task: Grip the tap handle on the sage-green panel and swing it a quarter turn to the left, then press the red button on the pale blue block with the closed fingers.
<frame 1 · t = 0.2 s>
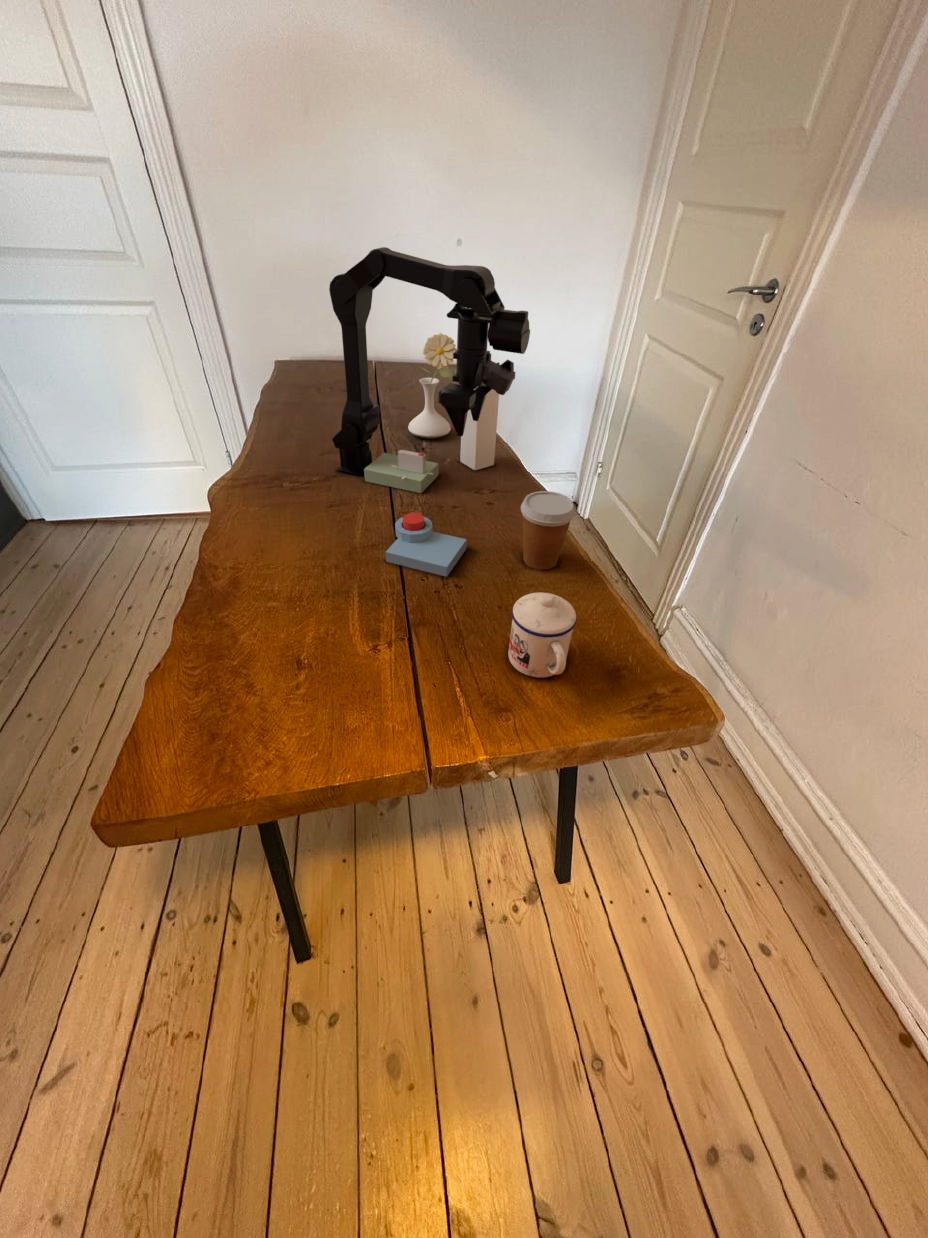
hand: (468, 427, 113), 14 cm above the table, tool pointing down, fingers open, 9 cm apart
tap handle: (411, 461, 121), point 5 cm above the table, hinge at 0.0°
disposable coffee cup: (539, 561, 103), on the table
button block: (427, 555, 102), on the table
teacup with lid: (540, 665, 81), on the table
milk: (476, 464, 134), on the table
button: (413, 522, 103), point 4 cm above the table, slide at 0.1 cm
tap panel: (402, 478, 126), on the table
flower in vase: (432, 435, 147), on the table
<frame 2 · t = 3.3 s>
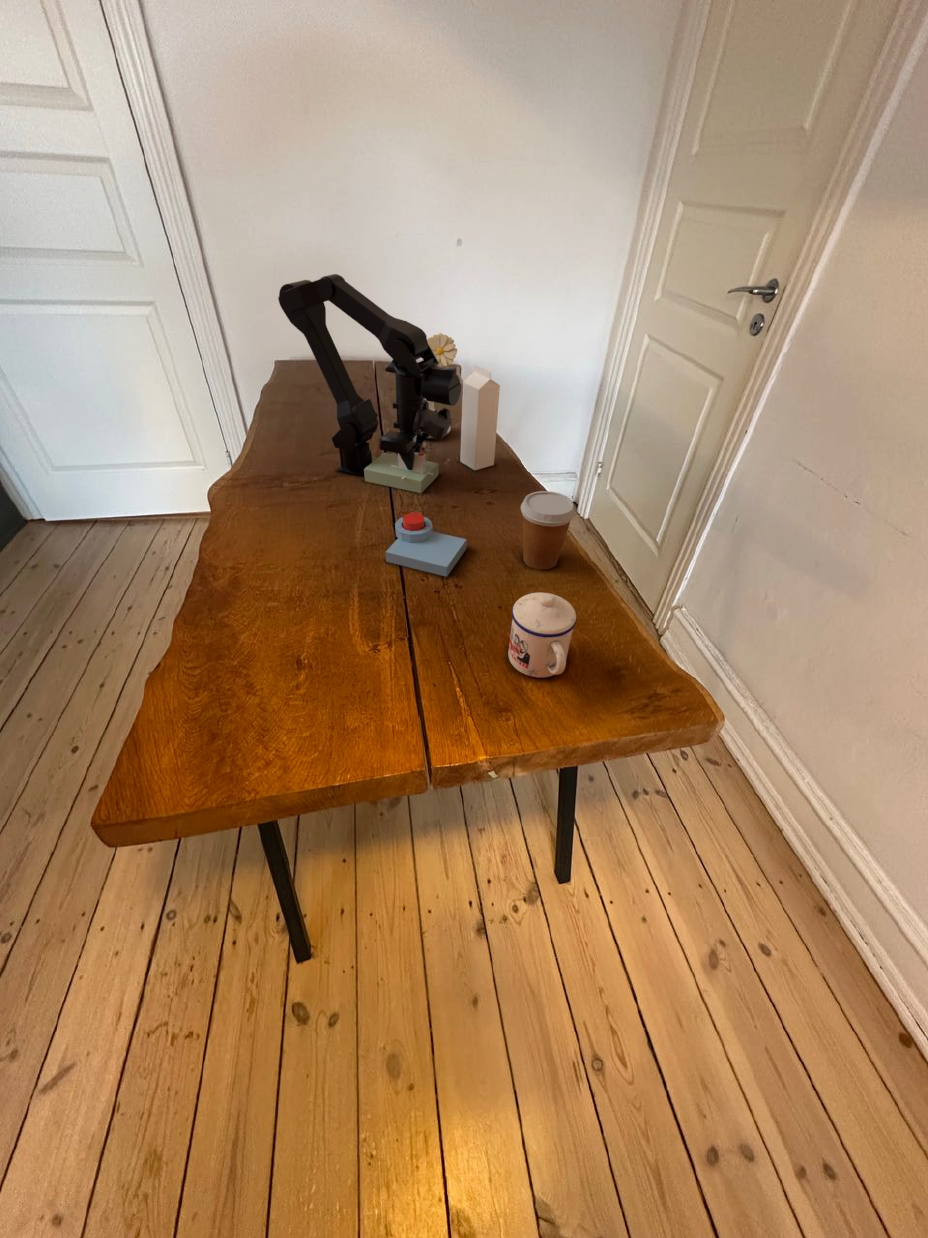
hand: (411, 468, 123), 4 cm above the table, tool pointing down, fingers closed on tap handle, 2 cm apart
tap handle: (411, 461, 121), point 5 cm above the table, hinge at 0.1°, touching gripper
everything else where it was.
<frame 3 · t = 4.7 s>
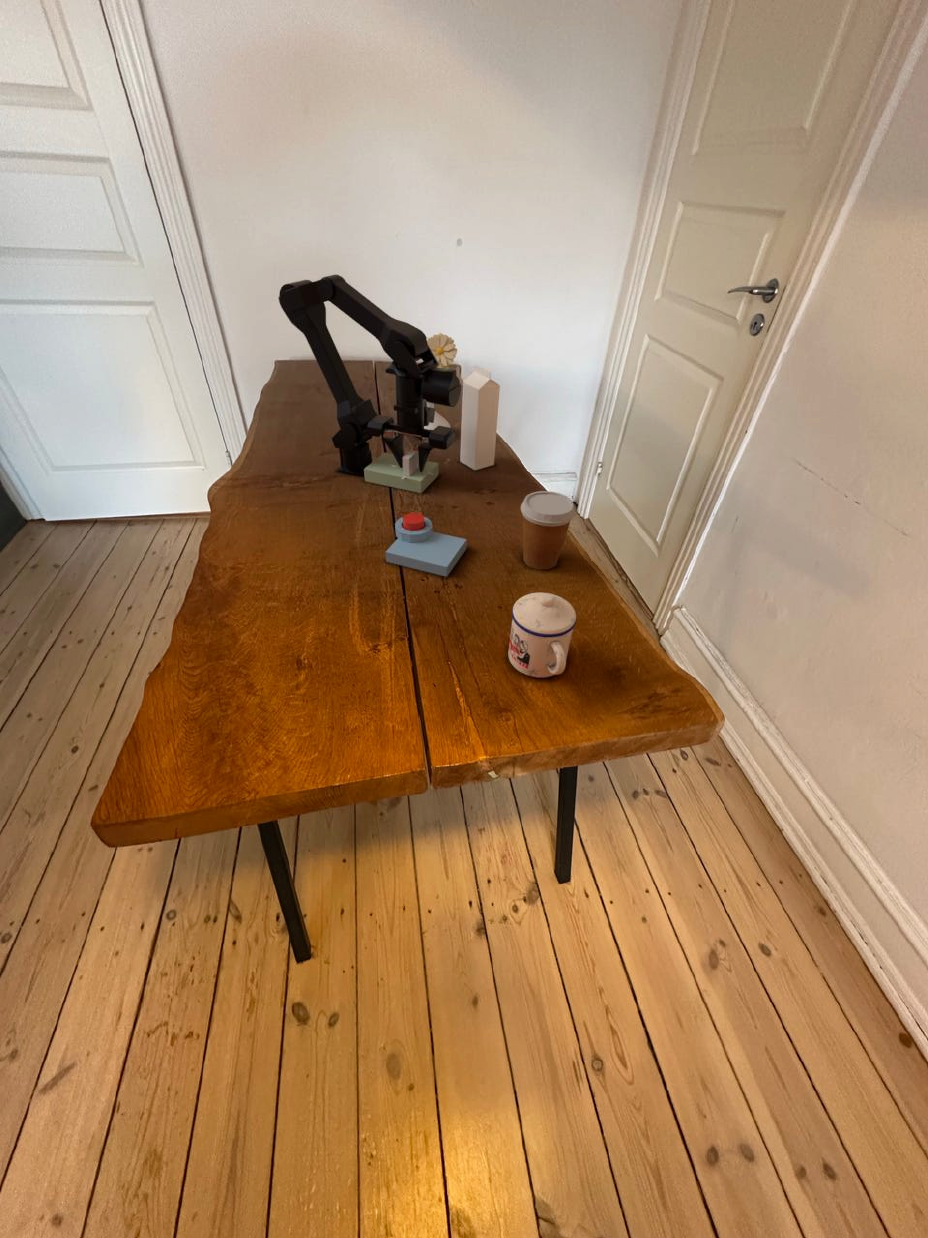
hand: (411, 469, 123), 3 cm above the table, tool pointing down, fingers open, 4 cm apart
tap handle: (411, 461, 121), point 5 cm above the table, hinge at 89.9°
everything else where it was.
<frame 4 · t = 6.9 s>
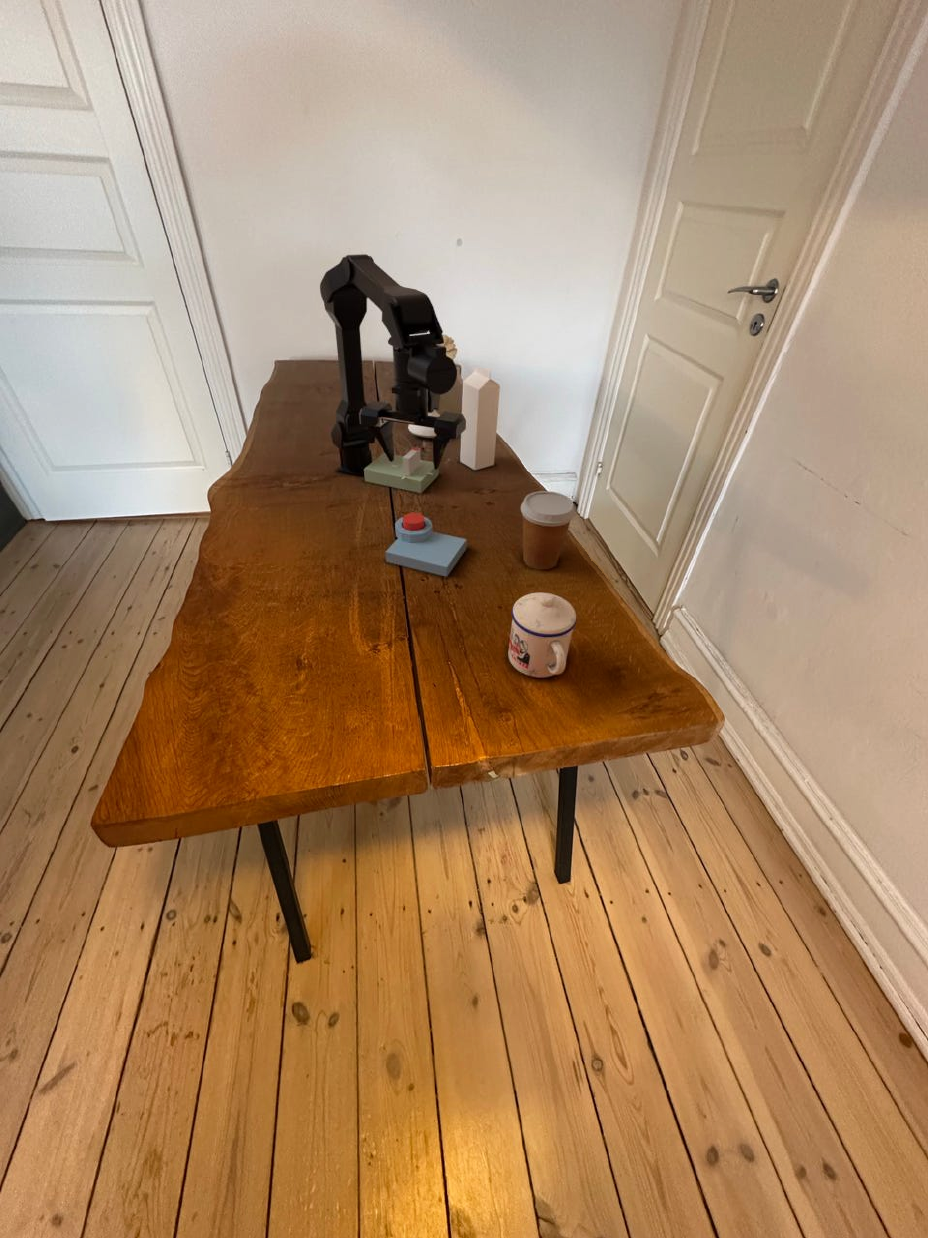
hand: (413, 464, 104), 12 cm above the table, tool pointing down, fingers open, 9 cm apart
nothing on the table moved.
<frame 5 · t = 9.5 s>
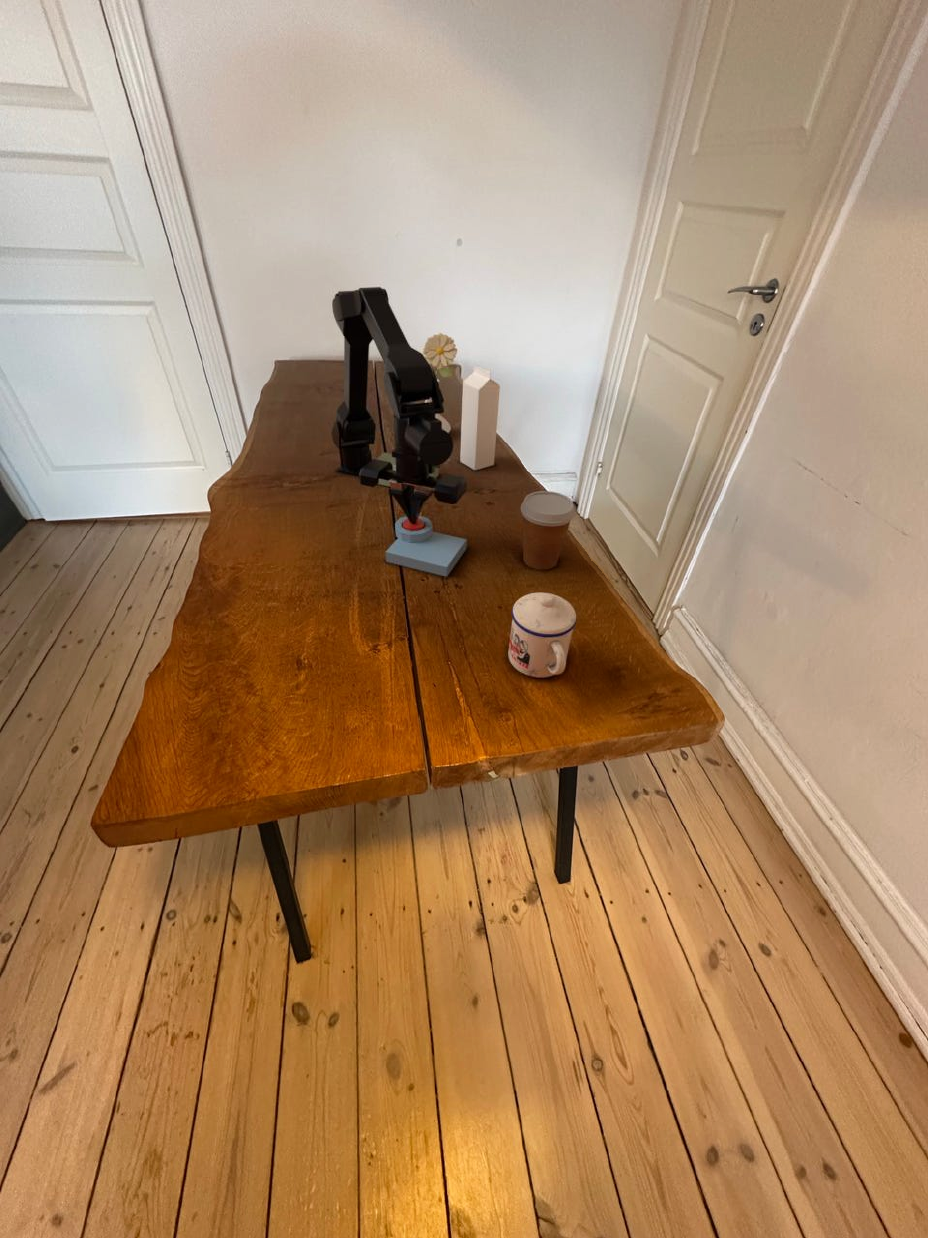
hand: (413, 522, 103), 4 cm above the table, tool pointing down, fingers closed, pressing on button
button: (413, 526, 103), point 3 cm above the table, slide at -0.9 cm, touching gripper
everything else where it was.
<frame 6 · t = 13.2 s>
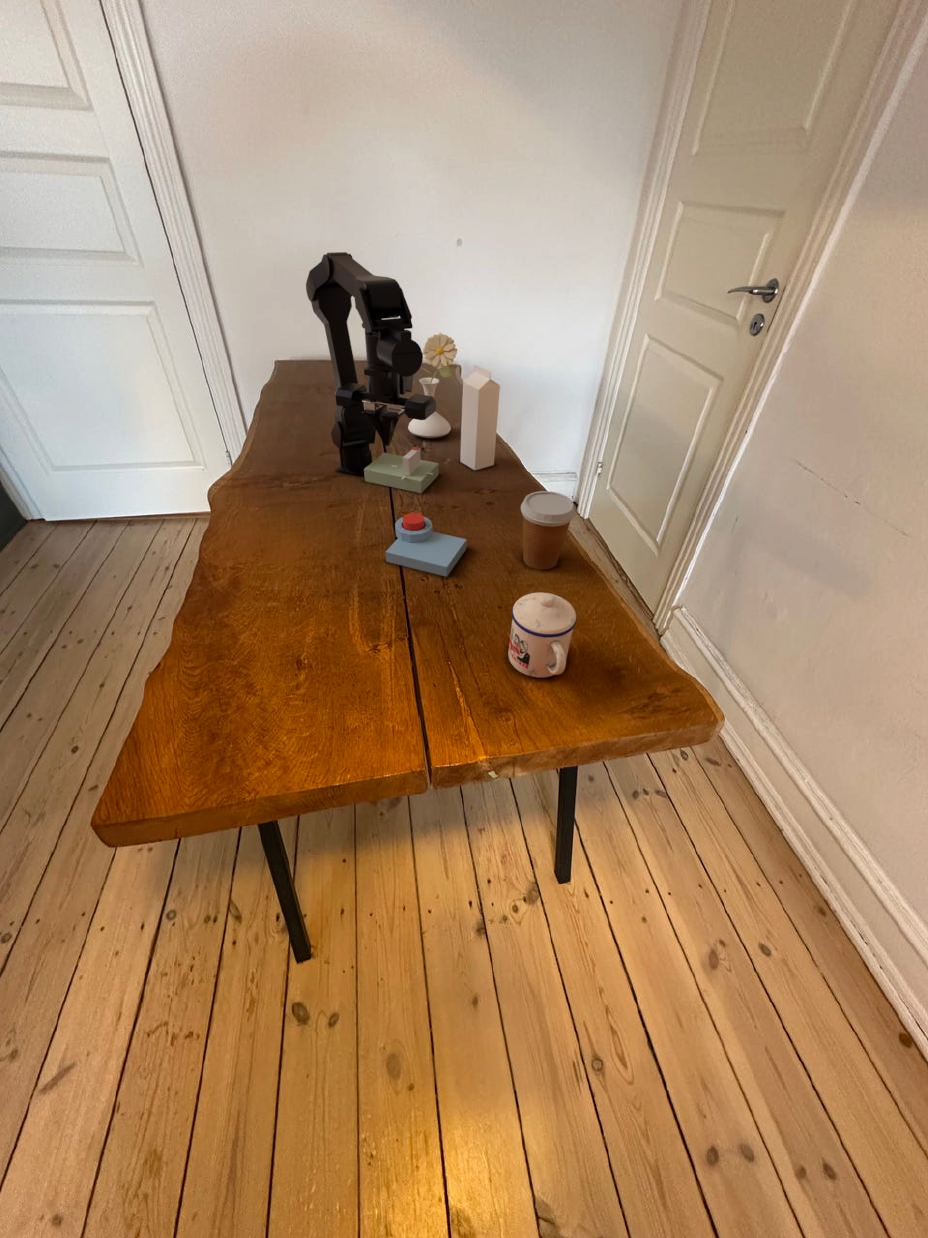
hand: (387, 444, 108), 13 cm above the table, tool pointing down, fingers closed
button: (413, 522, 103), point 4 cm above the table, slide at 0.1 cm
everything else where it was.
at the end: tap handle at +90° (first picture: +0°); button pushed in 1.1 cm at the most during the clip, back to where it started at the end; button slide at 0.1 cm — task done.
